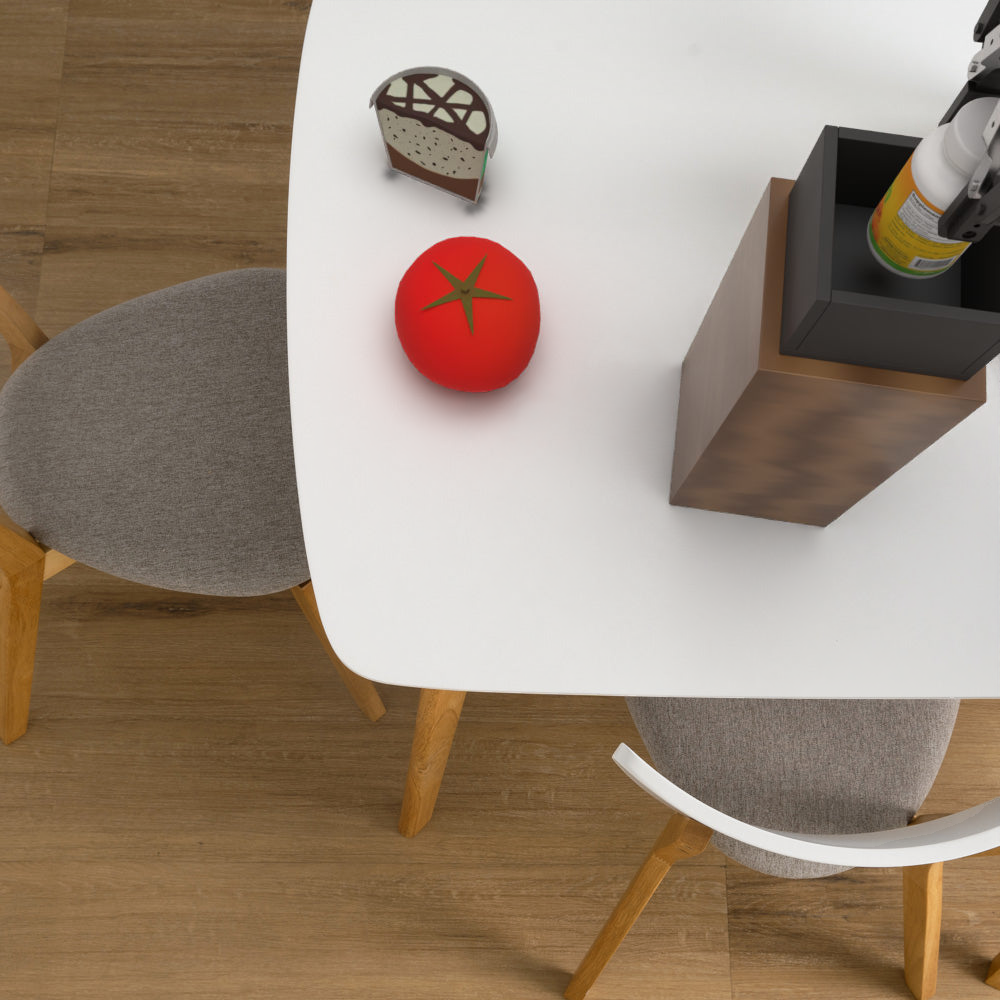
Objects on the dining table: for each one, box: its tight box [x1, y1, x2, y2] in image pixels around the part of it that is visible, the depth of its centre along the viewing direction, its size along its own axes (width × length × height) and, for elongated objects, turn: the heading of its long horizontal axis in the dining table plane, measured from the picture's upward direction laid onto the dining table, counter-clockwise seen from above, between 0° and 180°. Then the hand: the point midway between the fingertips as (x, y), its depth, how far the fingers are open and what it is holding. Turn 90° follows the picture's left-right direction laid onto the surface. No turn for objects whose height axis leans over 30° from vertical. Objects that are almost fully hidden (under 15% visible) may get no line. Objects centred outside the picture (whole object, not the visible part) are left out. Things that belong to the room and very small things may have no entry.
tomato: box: [394, 235, 542, 394], centre depth 85 cm, size 14×13×10 cm
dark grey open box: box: [779, 124, 1000, 381], centre depth 58 cm, size 12×12×7 cm
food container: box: [368, 65, 499, 205], centre depth 91 cm, size 12×6×10 cm, turn 65°
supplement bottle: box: [867, 97, 1000, 279], centre depth 51 cm, size 5×5×10 cm
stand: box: [668, 176, 987, 528], centre depth 74 cm, size 14×14×28 cm
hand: (956, 183), depth 51 cm, fingers closed on supplement bottle, 5 cm apart
